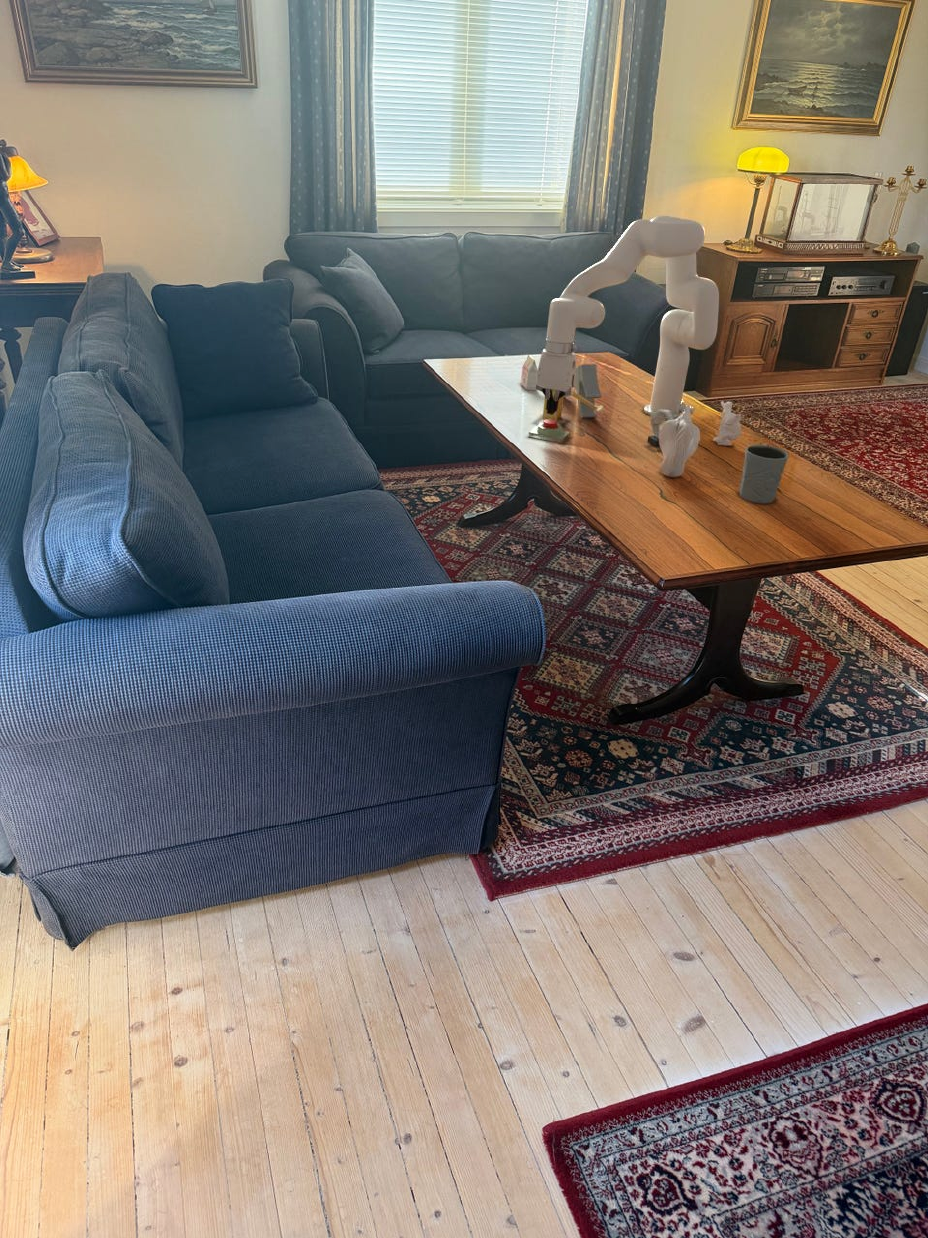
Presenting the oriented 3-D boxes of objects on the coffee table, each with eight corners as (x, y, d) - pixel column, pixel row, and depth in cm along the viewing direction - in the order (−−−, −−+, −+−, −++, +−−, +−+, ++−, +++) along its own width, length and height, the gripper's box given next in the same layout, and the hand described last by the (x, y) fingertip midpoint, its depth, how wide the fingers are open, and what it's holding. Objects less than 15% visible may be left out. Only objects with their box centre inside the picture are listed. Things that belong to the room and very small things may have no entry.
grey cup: (770, 508, 206) (782, 461, 200) (730, 497, 210) (741, 452, 204) (780, 495, 213) (792, 450, 207) (741, 485, 218) (752, 441, 211)
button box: (568, 437, 242) (570, 425, 240) (561, 444, 236) (562, 432, 235) (536, 431, 245) (537, 419, 243) (528, 437, 240) (529, 425, 238)
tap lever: (601, 412, 248) (605, 405, 247) (595, 416, 244) (599, 410, 242) (553, 381, 250) (556, 374, 248) (547, 385, 246) (550, 378, 244)
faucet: (549, 430, 277) (585, 418, 248) (546, 378, 275) (583, 360, 246) (566, 429, 279) (604, 417, 250) (564, 378, 277) (602, 360, 248)
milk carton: (531, 383, 287) (534, 354, 282) (536, 389, 282) (539, 359, 277) (520, 384, 287) (523, 354, 281) (526, 389, 281) (529, 359, 276)
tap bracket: (568, 420, 255) (574, 375, 248) (559, 428, 248) (564, 382, 241) (543, 415, 258) (548, 370, 251) (534, 423, 251) (538, 377, 244)
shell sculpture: (670, 482, 216) (683, 414, 207) (650, 471, 222) (662, 404, 213) (694, 478, 220) (709, 411, 210) (674, 467, 226) (687, 402, 216)
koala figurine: (705, 439, 247) (713, 399, 241) (723, 437, 250) (732, 398, 244) (723, 449, 241) (732, 408, 235) (741, 447, 243) (751, 407, 237)
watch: (658, 442, 243) (665, 405, 237) (674, 452, 237) (682, 414, 231) (642, 444, 241) (649, 406, 235) (658, 453, 235) (665, 415, 229)
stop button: (558, 426, 240) (559, 420, 239) (554, 430, 237) (555, 424, 236) (545, 424, 241) (546, 418, 240) (541, 427, 238) (541, 421, 237)
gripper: (589, 348, 228) (580, 414, 238) (538, 340, 233) (531, 405, 242) (581, 354, 222) (572, 421, 232) (528, 345, 227) (522, 411, 236)
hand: (551, 412), depth 237 cm, fingers closed
